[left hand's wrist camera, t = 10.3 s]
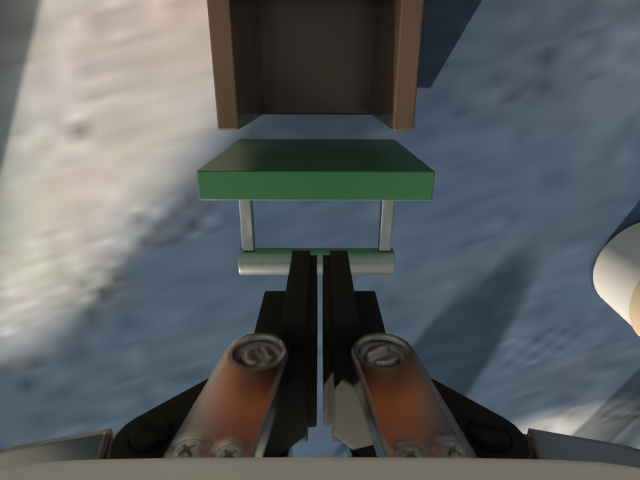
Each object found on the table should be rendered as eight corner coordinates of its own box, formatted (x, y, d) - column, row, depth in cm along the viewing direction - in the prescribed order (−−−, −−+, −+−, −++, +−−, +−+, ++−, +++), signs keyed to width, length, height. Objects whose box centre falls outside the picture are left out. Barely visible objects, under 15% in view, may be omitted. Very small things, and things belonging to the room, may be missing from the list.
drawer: (387, 240, 27) (419, 315, 18) (246, 240, 27) (212, 314, 18) (417, -195, 19) (499, -421, 10) (216, -196, 19) (130, -424, 10)
